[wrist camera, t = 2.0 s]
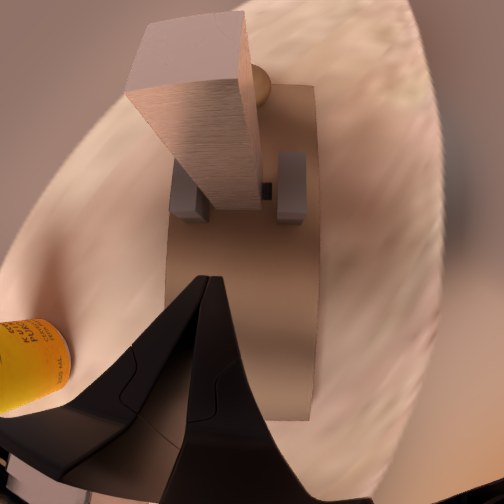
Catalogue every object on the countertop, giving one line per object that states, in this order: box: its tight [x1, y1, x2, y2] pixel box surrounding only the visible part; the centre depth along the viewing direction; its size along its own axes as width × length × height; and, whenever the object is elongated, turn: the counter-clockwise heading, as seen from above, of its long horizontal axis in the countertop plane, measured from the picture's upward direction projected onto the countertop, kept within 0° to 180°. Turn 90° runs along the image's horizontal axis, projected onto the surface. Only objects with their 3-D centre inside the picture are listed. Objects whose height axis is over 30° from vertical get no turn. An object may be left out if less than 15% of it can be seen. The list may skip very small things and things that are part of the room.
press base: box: [165, 64, 320, 421], centre depth 16 cm, size 22×9×5 cm, turn 178°
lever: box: [124, 11, 272, 210], centre depth 11 cm, size 2×3×12 cm
